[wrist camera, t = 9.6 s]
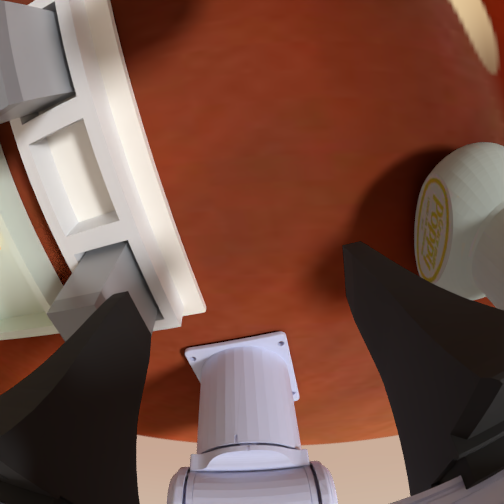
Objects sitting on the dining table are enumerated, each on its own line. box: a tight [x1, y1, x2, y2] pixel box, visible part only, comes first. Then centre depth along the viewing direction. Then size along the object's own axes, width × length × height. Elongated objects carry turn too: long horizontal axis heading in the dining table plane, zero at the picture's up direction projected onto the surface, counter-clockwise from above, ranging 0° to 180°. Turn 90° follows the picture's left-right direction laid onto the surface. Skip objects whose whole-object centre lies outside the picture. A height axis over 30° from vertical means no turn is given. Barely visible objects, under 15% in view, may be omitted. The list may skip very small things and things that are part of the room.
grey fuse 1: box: [0, 0, 76, 124], centre depth 10 cm, size 5×3×7 cm, turn 13°
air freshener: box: [414, 142, 504, 310], centre depth 15 cm, size 11×8×10 cm
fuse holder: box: [10, 0, 206, 331], centre depth 16 cm, size 23×8×3 cm, turn 12°
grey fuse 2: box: [47, 240, 159, 342], centre depth 17 cm, size 5×3×7 cm, turn 12°
